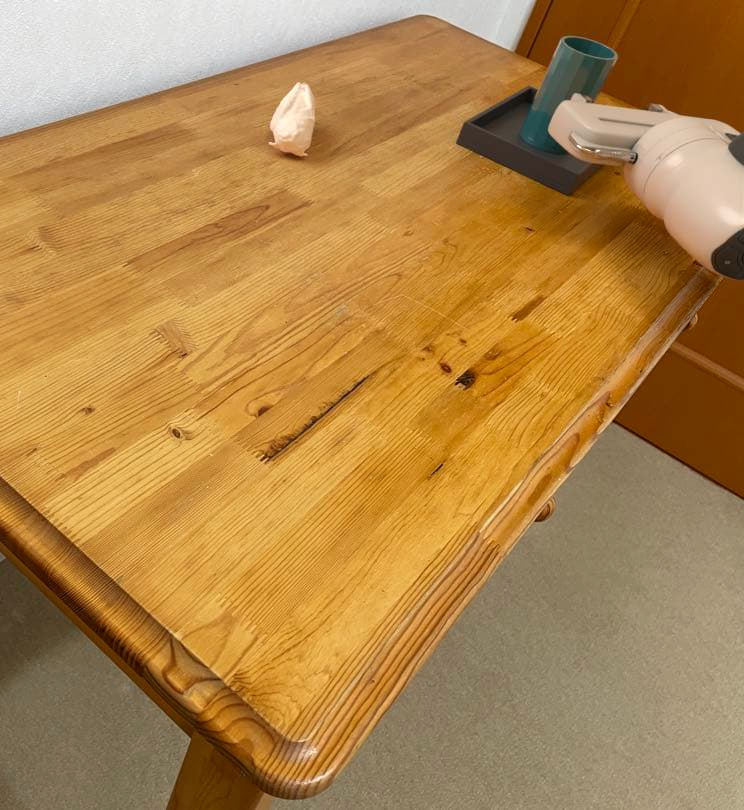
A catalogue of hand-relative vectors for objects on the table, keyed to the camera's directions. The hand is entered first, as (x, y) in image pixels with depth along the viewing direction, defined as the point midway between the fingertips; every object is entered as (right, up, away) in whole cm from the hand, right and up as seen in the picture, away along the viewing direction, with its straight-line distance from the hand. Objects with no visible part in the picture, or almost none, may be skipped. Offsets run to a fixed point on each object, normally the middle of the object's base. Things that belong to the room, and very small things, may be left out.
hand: (613, 105), depth 96 cm
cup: (-3, 0, +13) cm, 13 cm away
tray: (-3, -1, +13) cm, 14 cm away
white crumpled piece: (-36, -4, +2) cm, 37 cm away
